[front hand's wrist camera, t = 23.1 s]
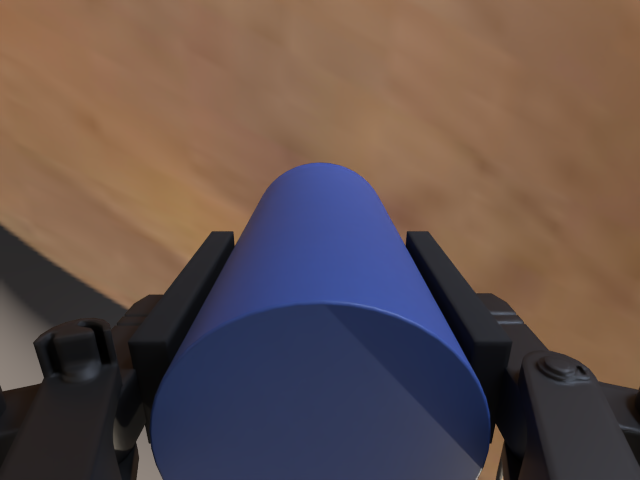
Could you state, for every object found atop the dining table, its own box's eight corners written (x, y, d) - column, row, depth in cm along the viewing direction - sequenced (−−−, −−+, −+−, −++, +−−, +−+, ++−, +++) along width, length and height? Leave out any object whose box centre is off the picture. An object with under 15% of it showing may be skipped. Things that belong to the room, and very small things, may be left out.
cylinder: (233, 192, 18) (77, 373, 6) (359, 141, 17) (438, 244, 6) (286, 300, 20) (241, 587, 8) (401, 260, 19) (523, 515, 8)
